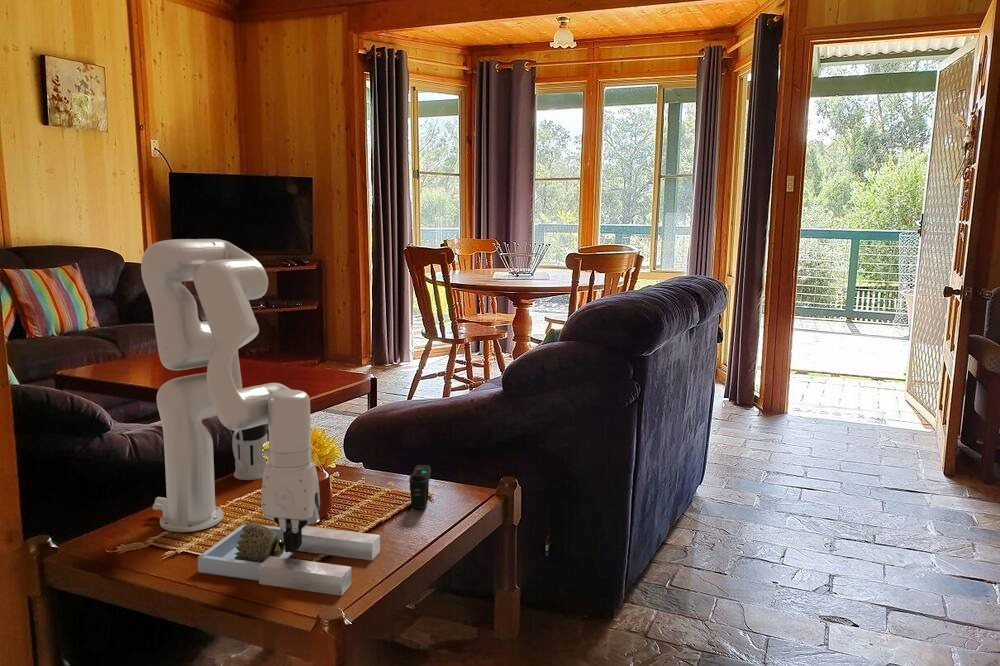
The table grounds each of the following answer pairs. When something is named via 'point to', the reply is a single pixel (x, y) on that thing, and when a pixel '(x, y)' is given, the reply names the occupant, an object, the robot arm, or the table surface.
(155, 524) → the table surface
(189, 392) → the robot arm
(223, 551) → the tray
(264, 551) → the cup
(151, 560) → the table surface
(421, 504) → the controller
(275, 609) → the table surface
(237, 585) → the table surface
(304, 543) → the groove rails
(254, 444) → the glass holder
